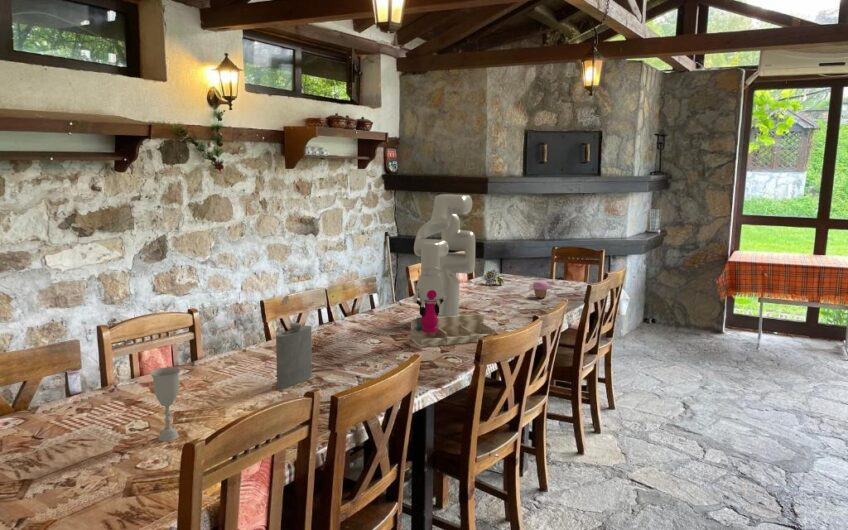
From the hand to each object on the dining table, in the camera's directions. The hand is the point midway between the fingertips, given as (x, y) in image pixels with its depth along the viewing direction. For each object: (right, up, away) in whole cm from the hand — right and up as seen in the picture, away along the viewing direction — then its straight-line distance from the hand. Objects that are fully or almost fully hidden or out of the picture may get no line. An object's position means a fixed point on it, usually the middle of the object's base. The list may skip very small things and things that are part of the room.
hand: (429, 315), depth 261 cm
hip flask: (-45, -19, -49) cm, 69 cm away
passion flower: (+41, +8, +135) cm, 141 cm away
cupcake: (+63, +2, +97) cm, 116 cm away
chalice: (-70, -25, -94) cm, 119 cm away
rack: (+10, -11, +6) cm, 16 cm away
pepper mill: (0, -7, +1) cm, 7 cm away
